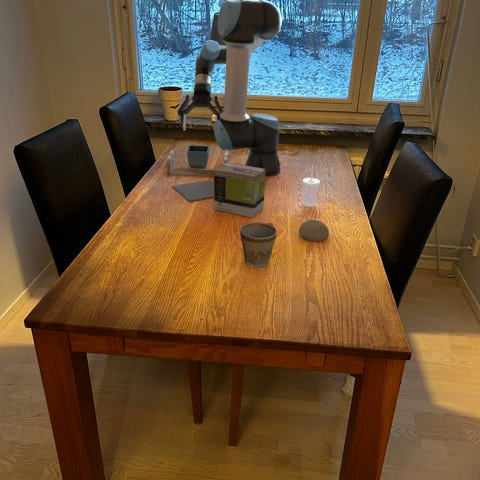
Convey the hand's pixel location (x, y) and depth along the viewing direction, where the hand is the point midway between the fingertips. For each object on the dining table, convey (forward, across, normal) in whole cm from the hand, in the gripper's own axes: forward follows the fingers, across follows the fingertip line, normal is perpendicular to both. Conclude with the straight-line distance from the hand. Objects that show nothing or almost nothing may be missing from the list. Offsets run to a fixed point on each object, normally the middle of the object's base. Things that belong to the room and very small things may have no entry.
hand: (199, 129), depth 200 cm
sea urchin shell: (+59, -42, +39) cm, 82 cm away
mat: (+35, -3, +15) cm, 38 cm away
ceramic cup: (+70, -24, +50) cm, 90 cm away
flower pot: (+17, 0, -3) cm, 18 cm away
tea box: (+46, -18, +26) cm, 56 cm away
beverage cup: (+41, -43, +21) cm, 63 cm away
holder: (+17, 0, -3) cm, 17 cm away
